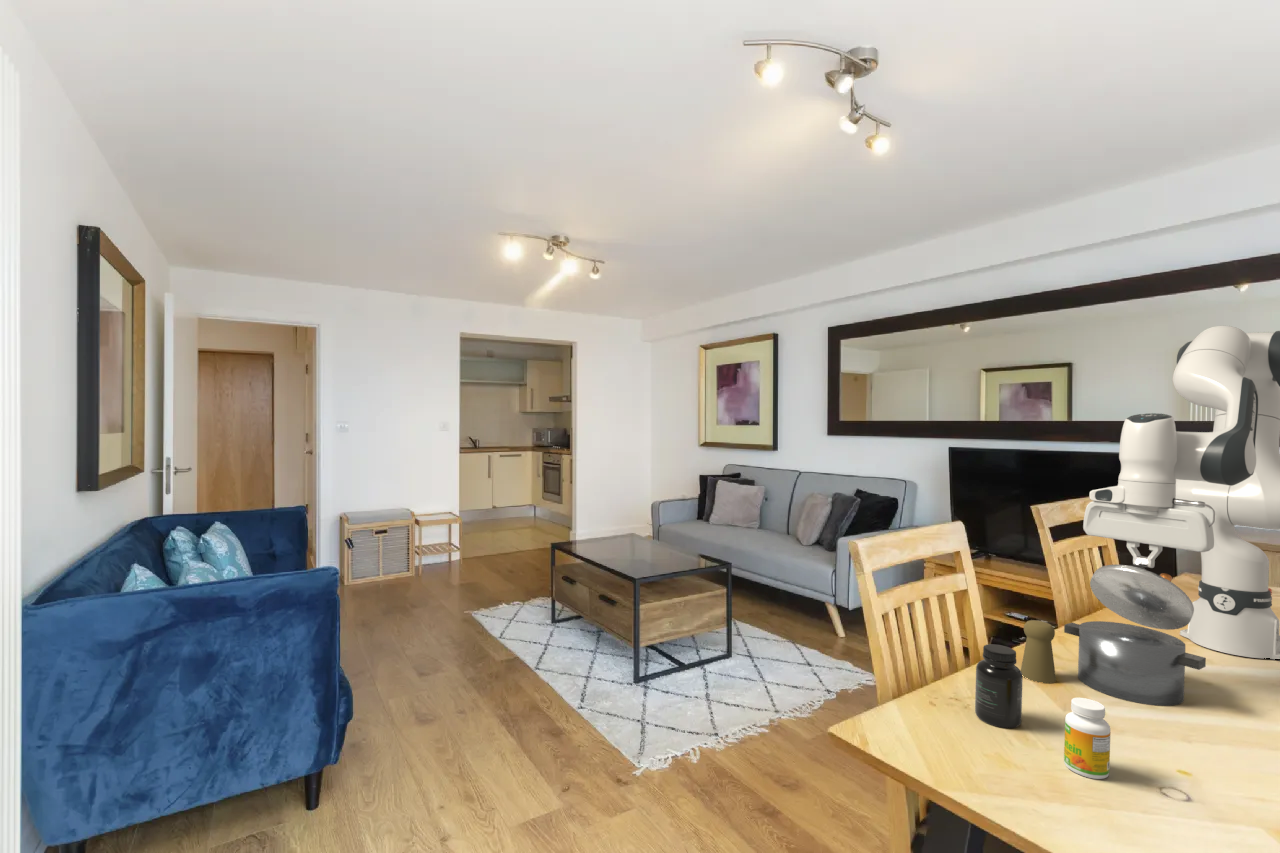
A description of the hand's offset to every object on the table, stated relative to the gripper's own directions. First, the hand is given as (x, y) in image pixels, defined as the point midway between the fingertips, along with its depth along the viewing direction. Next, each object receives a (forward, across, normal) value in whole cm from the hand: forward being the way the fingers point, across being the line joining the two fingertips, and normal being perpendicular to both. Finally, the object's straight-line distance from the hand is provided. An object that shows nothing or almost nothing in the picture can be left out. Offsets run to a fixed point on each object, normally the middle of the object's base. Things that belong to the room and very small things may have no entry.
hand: (1143, 566), depth 122 cm
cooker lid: (+6, 0, +2) cm, 7 cm away
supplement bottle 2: (+23, -10, +45) cm, 52 cm away
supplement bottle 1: (+23, +5, +41) cm, 47 cm away
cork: (+23, +11, +16) cm, 30 cm away
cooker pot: (+23, 0, +5) cm, 23 cm away
